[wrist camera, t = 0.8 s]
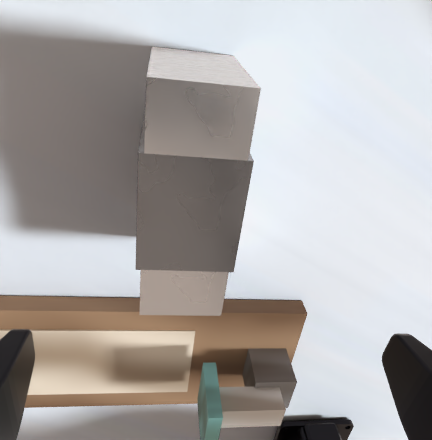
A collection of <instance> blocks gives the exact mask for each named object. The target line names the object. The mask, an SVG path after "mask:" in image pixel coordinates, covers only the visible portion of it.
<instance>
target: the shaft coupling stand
mask: <svg viewBox="0 0 432 440" xmlns="http://www.w3.org/2000/svg"><path fill="white" fill-rule="evenodd" d="M306 316H307V312H306V309H305V307H304V305H303V302H302V301H295V300H234V299H224V302H223V308H222V313H221V316H191V315H140V298H112V297H51V296H0V339H1V338H2V337H3V336H5V335H6V334H7V333H8V332H9V331H10V330H13V329H29V330H31V332H32V335H33V342H34V349H35V363H34V368H33V372H32V377H31V381H30V385H29V390H28V394H27V398H26V403H25V407H24V408H28V407H69V406H110V405H152V404H193V403H198V415H199V428H200V440H218V439H219V434H220V430H221V428H232V427H261V426H280V425H281V422H282V419H283V417H284V414H285V411H286V409H285V408H288V406H289V403H290V400H291V397H292V394H293V392H294V389H295V386H296V383H297V381H296V378H295V375H294V372H293V368H292V365H291V362H292V359H293V356H294V353H295V350H296V347H297V344H298V341H299V338H300V335H301V332H302V329H303V325H304V322H305V319H306Z"/></svg>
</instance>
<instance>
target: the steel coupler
mask: <svg viewBox="0 0 432 440" xmlns="http://www.w3.org/2000/svg"><path fill="white" fill-rule="evenodd" d="M260 89H261V88H260V87H259V86H258V84H257V83H256V82H255V81H254V80H253V78H252V77H251V76H250V75H249V74H248V72H247V71H246V70H245V69H244V68H243V66H242V65H241V64H240V63H239V62H238V60H237V59H236V58H235V57H234V56H232V55H223V54H215V53H206V52H197V51H188V50H179V49H170V48H161V47H152V49H151V55H150V60H149V66H148V71H147V77H146V105H145V111H144V118H143V125H142V131H141V138H140V145H139V151H138V188H137V235H136V270H141V281H140V315H191V316H221V313H222V308H223V302H224V296H225V290H226V285H227V279H228V273H229V272H234V266H235V261H236V255H237V250H238V244H239V239H240V233H241V228H242V222H243V217H244V211H245V206H246V200H247V195H248V189H249V184H250V178H251V173H252V167H253V162H254V161H253V159H252V157H251V155H250V147H251V141H252V135H253V129H254V124H255V118H256V112H257V106H258V101H259V95H260Z"/></svg>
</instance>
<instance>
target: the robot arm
mask: <svg viewBox="0 0 432 440" xmlns="http://www.w3.org/2000/svg"><path fill="white" fill-rule="evenodd" d="M34 363H35V349H34V342H33V335H32V332H31V330H29V329H13V330H10V331H9V332H8V333H7V334H6V335H5V336H3V337H2V338H1V339H0V440H16V438H17V435H18V432H19V428H20V424H21V420H22V416H23V412H24V407H25V403H26V398H27V394H28V390H29V385H30V381H31V377H32V372H33V368H34ZM382 363H383V367H384V370H385V373H386V376H387V379H388V383H389V386H390V389H391V392H392V395H393V398H394V402H395V405H396V408H397V411H398V414H399V417H400V420H401V422H402V425H403V428H404V430H405V432H406V435H407V437H408V440H432V350H431V349H429V348H428V347H427V346H425V345H424V344H423V343H421V342H420V341H419V340H417V339H416V338H415V337H413V336H412V335H410V334H394V335H393V336H392V337H391V339H390V341H389V343H388V345H387V346H386V348H385V350H384V352H383V355H382ZM352 429H353V423H352V421H351V420H318V421H287V422H282V423H281V425H280V426H278V429H277V432H276V435H275V438H274V440H347V439H348V437H349V435H350V433H351V431H352Z"/></svg>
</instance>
